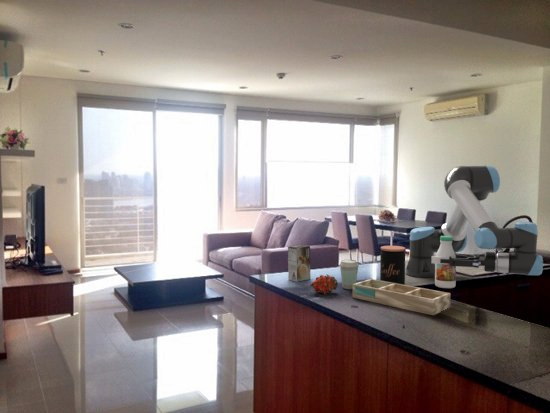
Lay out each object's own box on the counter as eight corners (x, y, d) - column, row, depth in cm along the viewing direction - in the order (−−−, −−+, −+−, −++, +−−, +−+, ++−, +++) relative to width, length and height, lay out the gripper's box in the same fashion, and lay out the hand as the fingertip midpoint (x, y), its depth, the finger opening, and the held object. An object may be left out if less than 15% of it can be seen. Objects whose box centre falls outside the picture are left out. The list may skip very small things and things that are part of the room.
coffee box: (301, 276, 234) (301, 244, 232) (310, 279, 229) (310, 245, 228) (287, 279, 228) (287, 246, 226) (297, 282, 223) (297, 248, 222)
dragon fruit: (340, 296, 202) (312, 301, 201) (335, 281, 209) (308, 286, 208) (340, 283, 197) (312, 288, 196) (335, 268, 203) (308, 273, 202)
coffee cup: (358, 290, 206) (358, 263, 205) (338, 289, 208) (338, 262, 207) (359, 285, 215) (359, 259, 214) (340, 284, 216) (340, 258, 215)
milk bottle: (430, 285, 191) (431, 235, 189) (445, 283, 194) (446, 234, 192) (444, 289, 184) (445, 238, 182) (459, 287, 187) (461, 237, 185)
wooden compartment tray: (370, 291, 204) (370, 278, 204) (450, 307, 179) (450, 293, 179) (351, 297, 194) (351, 284, 194) (432, 315, 169) (433, 300, 169)
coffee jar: (375, 287, 210) (375, 247, 209) (387, 283, 218) (388, 244, 217) (397, 291, 203) (397, 250, 202) (409, 287, 211) (409, 247, 210)
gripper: (495, 277, 172) (429, 272, 181) (495, 266, 190) (435, 262, 200) (496, 257, 171) (429, 252, 180) (496, 248, 189) (436, 244, 199)
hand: (432, 257), depth 190 cm, fingers closed on milk bottle, 7 cm apart
